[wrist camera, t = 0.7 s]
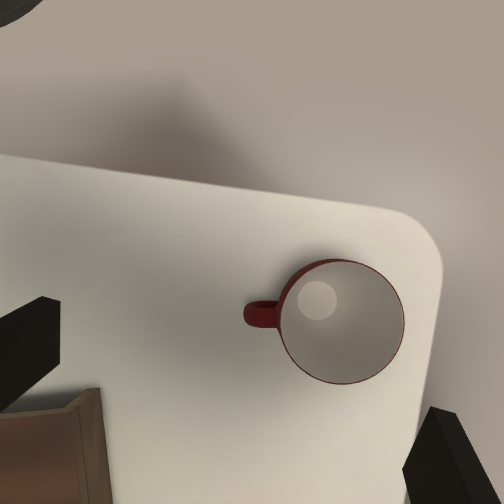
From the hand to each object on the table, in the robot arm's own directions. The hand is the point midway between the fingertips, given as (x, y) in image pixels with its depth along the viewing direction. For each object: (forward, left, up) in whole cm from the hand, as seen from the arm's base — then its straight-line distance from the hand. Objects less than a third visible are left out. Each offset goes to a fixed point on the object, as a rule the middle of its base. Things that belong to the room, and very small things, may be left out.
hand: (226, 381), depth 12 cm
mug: (+1, +5, -20) cm, 21 cm away
